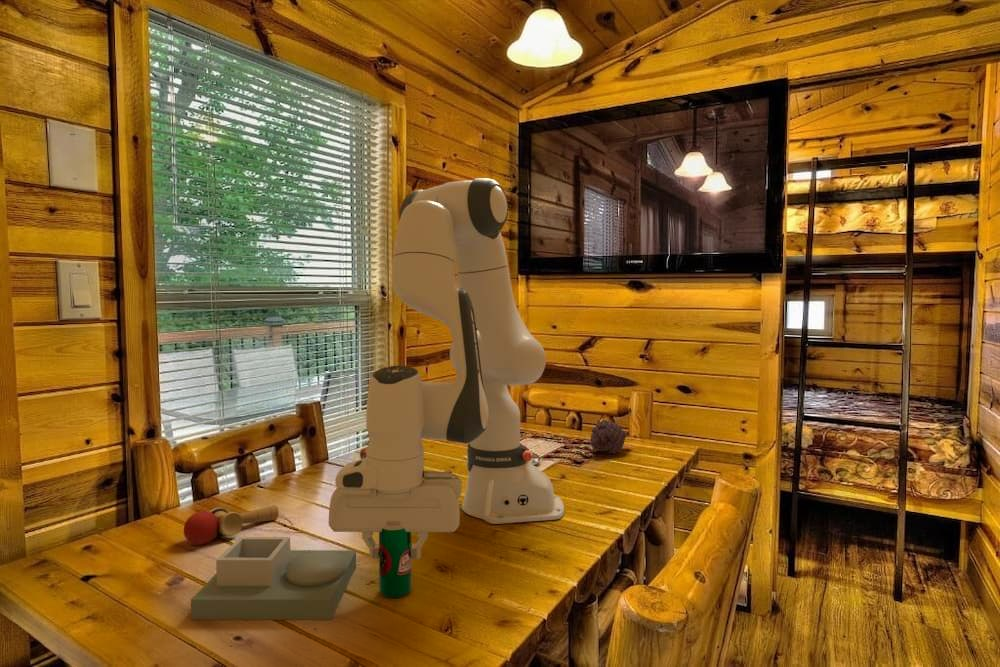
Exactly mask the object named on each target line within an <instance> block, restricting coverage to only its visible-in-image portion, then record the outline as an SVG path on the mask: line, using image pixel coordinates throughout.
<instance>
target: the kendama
mask: <svg viewBox="0 0 1000 667" xmlns="http://www.w3.org/2000/svg"><path fill="white" fill-rule="evenodd" d="M278 517H279V509H278V507H277V505H270V506H267V507H263V508H258V509H254V510H251V511H247V512H243V513H238V512H236V511H228V510H227V509H225V508H223V507H214V508H211V509H210V510H209V511H207V510H201V511H198V512H195V513H193V514H191V515H190V516H189V517H188V518H187V520H186V521H185V522H184V526H183V535H184V538H185V539H186V540H187V542H189V543H190V544H191V545H193V546H201V545H203V546H204V545H205V544H208V543H210V542H212V541H213V540H214V539H215V538H217V537H218V536H220V535H222V536H225V537H233V536H235V535H237V534H238V533H239V532H240V531H241V530H242V528H243V524H254V523H262V522H271V521H276V520H277V519H278Z"/></svg>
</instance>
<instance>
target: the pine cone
mask: <svg viewBox="0 0 1000 667" xmlns="http://www.w3.org/2000/svg"><path fill="white" fill-rule="evenodd" d="M629 435H630V431H627V430H623V428H622V427H621V426H620V425H618V423H616V422H613V421H612V420H606V419H604V420H602V421H601V422H599V421H598V422H596V424H595V427H593V428H592V429H591V434H590V438H589V440H590V441H589V443H590V445H591V447H592V448H593V450H596V451H599V452H605V453H608V454H616V453H617V452H618V453H620V452H621V451H622V449H623V447H624V445H625V440H626V438H627V437H628V436H629Z"/></svg>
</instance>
